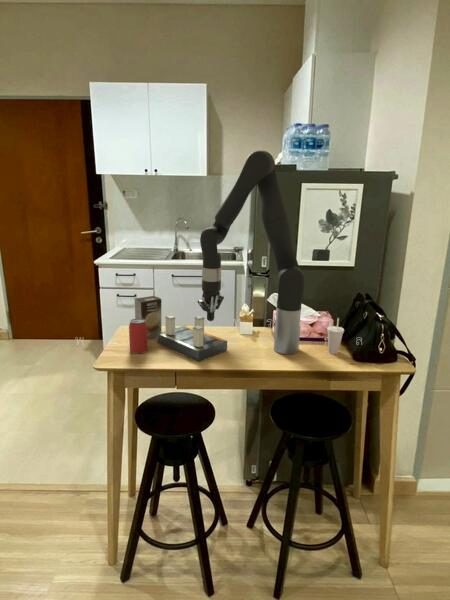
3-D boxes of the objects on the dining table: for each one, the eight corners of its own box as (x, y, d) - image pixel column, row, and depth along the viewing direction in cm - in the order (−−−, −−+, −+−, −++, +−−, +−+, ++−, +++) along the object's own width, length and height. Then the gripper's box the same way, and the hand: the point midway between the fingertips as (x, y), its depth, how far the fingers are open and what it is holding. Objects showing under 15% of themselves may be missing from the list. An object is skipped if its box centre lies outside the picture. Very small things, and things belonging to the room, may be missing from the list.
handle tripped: (198, 332, 162) (199, 315, 160) (204, 334, 160) (204, 317, 158) (194, 333, 161) (194, 317, 159) (199, 335, 159) (199, 318, 157)
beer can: (130, 347, 157) (129, 318, 153) (147, 346, 158) (146, 317, 154) (129, 354, 150) (128, 323, 147) (147, 353, 152) (146, 323, 148)
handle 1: (170, 331, 162) (170, 315, 160) (175, 333, 160) (175, 317, 158) (165, 333, 160) (165, 316, 158) (170, 335, 158) (170, 318, 156)
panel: (185, 334, 172) (185, 324, 171) (227, 350, 156) (227, 340, 155) (157, 343, 161) (157, 333, 160) (198, 362, 146) (198, 351, 145)
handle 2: (197, 343, 151) (198, 325, 150) (203, 345, 150) (203, 327, 148) (193, 344, 150) (193, 327, 148) (198, 347, 148) (198, 329, 146)
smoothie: (342, 356, 155) (346, 321, 151) (324, 354, 156) (328, 319, 152) (340, 349, 161) (344, 316, 157) (324, 348, 162) (327, 314, 158)
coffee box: (142, 340, 164) (141, 302, 159) (135, 335, 169) (133, 298, 164) (162, 335, 170) (161, 298, 165) (154, 331, 174) (153, 295, 170)
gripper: (205, 283, 152) (205, 326, 157) (230, 277, 161) (228, 319, 166) (192, 279, 157) (192, 321, 162) (216, 274, 166) (215, 314, 171)
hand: (210, 320), depth 164 cm, fingers closed
